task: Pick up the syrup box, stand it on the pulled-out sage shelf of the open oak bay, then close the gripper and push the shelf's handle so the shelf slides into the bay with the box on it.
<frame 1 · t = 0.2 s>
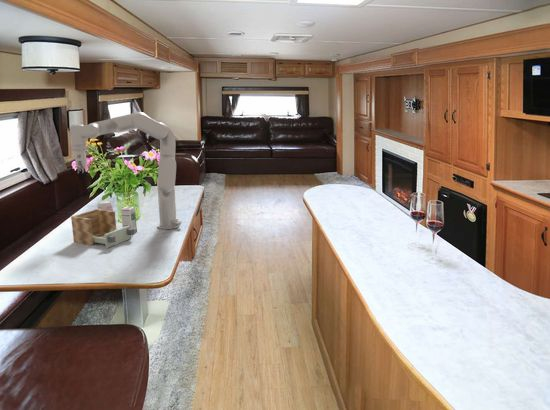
hand: (82, 178, 277), 31 cm above the table, tool pointing down, fingers open, 9 cm apart
syrup box: (130, 233, 283), on the table
bay: (95, 239, 272), on the table
tray: (112, 235, 266), point 4 cm above the table, slide at 9.0 cm
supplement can: (107, 227, 295), on the table
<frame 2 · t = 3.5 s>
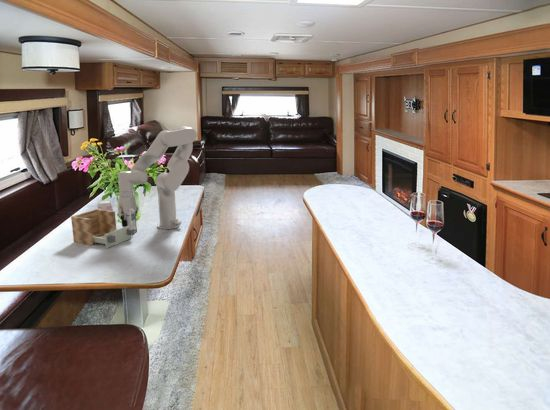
hand: (129, 224, 282), 5 cm above the table, tool pointing down, fingers closed on syrup box, 6 cm apart
syrup box: (130, 233, 283), on the table, touching gripper
everything else where it was.
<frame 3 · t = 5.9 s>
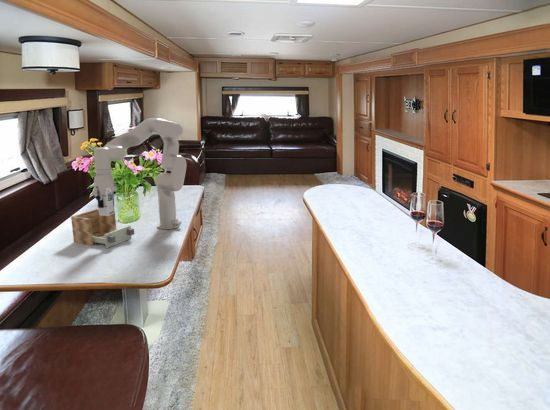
hand: (106, 205, 261), 20 cm above the table, tool pointing down, fingers closed on syrup box, 6 cm apart
syrup box: (106, 214, 262), point 15 cm above the table, touching gripper
everything else where it was.
when the fingers open (8 cm above the table, at t = 8.3 s): syrup box stays where it is, resting on tray.
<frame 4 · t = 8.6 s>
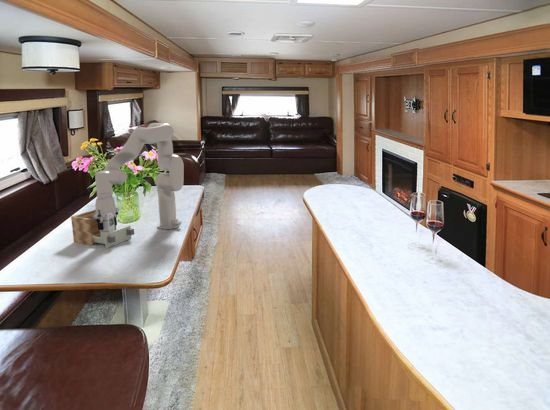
hand: (107, 227, 263), 9 cm above the table, tool pointing down, fingers open, 9 cm apart
syrup box: (108, 239, 265), point 2 cm above the table, touching tray
tray: (112, 235, 266), point 4 cm above the table, slide at 8.9 cm, touching syrup box
everything else where it was.
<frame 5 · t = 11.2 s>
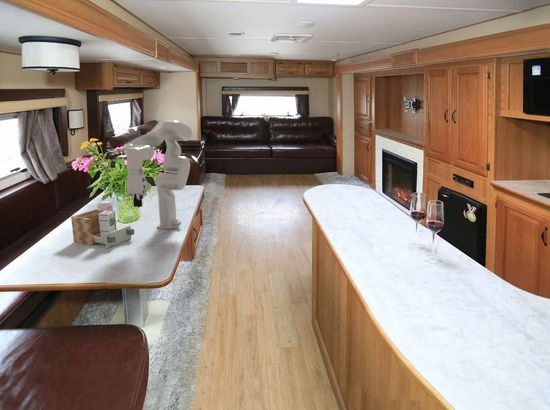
hand: (138, 206, 263), 19 cm above the table, tool pointing down, fingers closed
nothing on the table moved.
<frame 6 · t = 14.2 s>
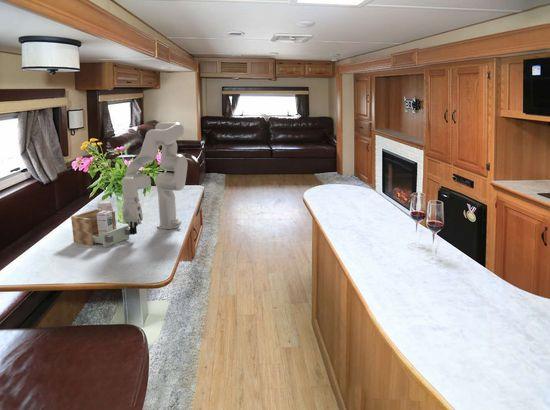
hand: (133, 233, 269), 4 cm above the table, tool pointing down, fingers closed
syrup box: (106, 238, 266), point 2 cm above the table, touching tray
tray: (110, 235, 267), point 4 cm above the table, slide at 7.5 cm, touching gripper, syrup box
everything else where it was.
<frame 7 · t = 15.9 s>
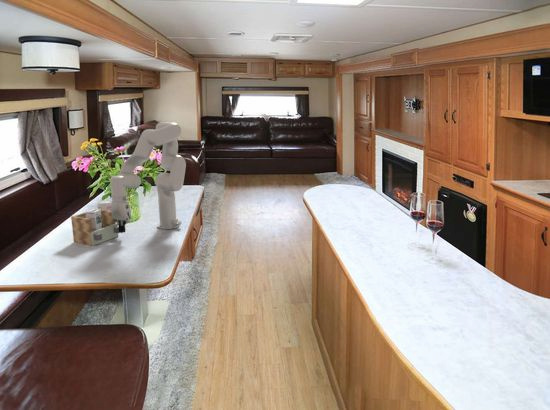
hand: (122, 232, 272), 4 cm above the table, tool pointing down, fingers closed
syrup box: (95, 237, 269), point 2 cm above the table, touching tray
tray: (99, 233, 270), point 4 cm above the table, slide at -0.3 cm, touching gripper, syrup box
everything else where it was.
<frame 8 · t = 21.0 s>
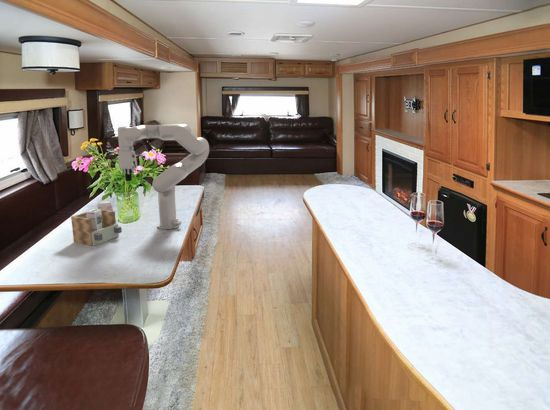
hand: (128, 180, 290), 27 cm above the table, tool pointing down, fingers closed
tray: (99, 233, 270), point 4 cm above the table, slide at 0.1 cm, touching syrup box
everything else where it was.
at the end: tray slide at 0.1 cm; syrup box inside the target area on the bay (3.1 cm from its centre), point 2.0 cm above the bay's base; syrup box tilted 0° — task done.
